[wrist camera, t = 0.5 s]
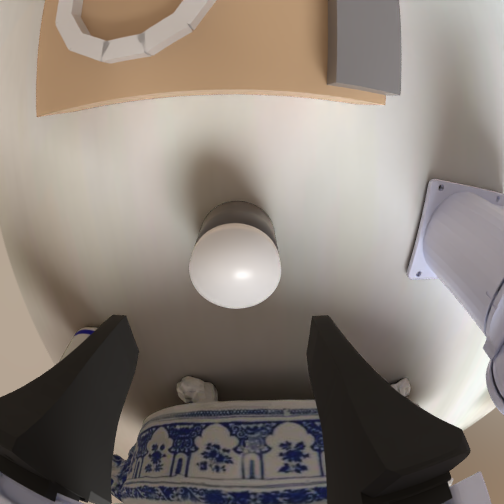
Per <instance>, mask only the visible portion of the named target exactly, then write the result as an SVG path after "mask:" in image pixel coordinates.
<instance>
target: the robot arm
mask: <svg viewBox="0 0 504 504" xmlns="http://www.w3.org/2000/svg"><path fill="white" fill-rule="evenodd" d="M440 184H441V188H440V189H438V187H439V185H440ZM496 198H497V199H496ZM417 272H419V273H418V274H417ZM407 276H408V278H409V279H440V280H441V281H442V282H443V283H444V285H445V286H446V287H447V288H448V289H449V290H450V292H451V293H452V294H453V295H454V296H455V298H456V299H457V300H458V301H459V302H460V304H461V305H462V306H463V307H464V309H465V310H466V311H467V312H468V314H469V315H470V316H471V317H472V319H473V320H474V321H475V322H476V324H477V325H478V326H479V328H480V329H481V330H482V332H483V333H484V334H485V336H486V337H487V338H486V342H485V344H484V346H483V349H484V351H485V352H486V354H487V355H488V357H489V358H490V362H489V364H488V367H487V371H486V383H487V388H488V391H489V394H490V396H491V399H492V401H493V402H494V404H495V406H496V407H497V408H498V410H499V411H500V412H501V413H502V414H503V415H504V194H503V193H499V192H495V191H491V190H487V189H482V188H478V187H474V186H469V185H464V184H459V183H455V182H449V181H444V180H439V179H432V180H430V182H429V184H428V189H427V194H426V199H425V204H424V208H423V213H422V217H421V222H420V226H419V230H418V234H417V238H416V242H415V246H414V249H413V253H412V256H411V260H410V263H409V267H408V270H407ZM138 353H139V350H138V348H137V345H136V342H135V340H134V337H133V334H132V331H131V329H130V326H129V323H128V320H127V317H126V316H124V315H112V316H111V317H110V318H109V319H107V320H106V321H105V322H104V323H103V324H102V325H101V326H100V327H99V328H97V329H96V330H95V331H94V332H93V333H92V334H91V335H90V336H89V337H88V338H87V339H85V340H84V341H83V342H82V343H81V344H80V345H79V346H78V347H77V348H76V349H74V350H73V351H72V352H71V353H70V354H68V355H67V356H66V357H65V358H64V359H63V360H61V361H60V362H59V363H58V364H56V365H55V366H54V367H53V368H51V369H50V370H49V371H47V372H45V373H44V374H43V375H41V376H40V377H38V378H36V379H35V380H33V381H31V382H30V383H28V384H26V385H25V386H23V387H21V388H19V389H17V390H15V391H13V392H12V393H9V394H7V395H5V396H2V397H0V504H84V503H81V502H79V500H81V501H84V502H88V501H89V502H92V503H95V504H111V503H112V500H111V473H112V459H113V451H114V443H115V437H116V431H117V426H118V422H119V418H120V414H121V411H122V408H123V405H124V402H125V399H126V396H127V393H128V390H129V388H130V385H131V382H132V379H133V376H134V373H135V368H136V364H137V358H138ZM307 361H308V370H309V377H310V381H311V385H312V390H313V394H314V398H315V402H316V406H317V410H318V415H319V419H320V423H321V428H322V435H323V444H324V454H325V466H326V482H327V504H491V501H490V498H489V494H488V491H487V488H486V485H485V482H484V479H483V476H482V473H481V472H477V473H476V474H474V475H472V476H470V477H468V478H466V479H464V480H462V481H460V482H458V483H456V484H454V485H453V486H451V487H449V485H448V481H450V480H451V475H450V472H449V471H450V470H452V469H453V468H454V467H455V466H457V465H458V464H459V463H460V462H462V461H463V460H464V459H465V458H466V457H467V456H468V455H469V453H470V448H469V445H468V443H467V440H466V438H465V436H464V433H463V431H462V429H460V428H458V427H456V426H453V425H451V424H449V423H447V422H445V421H443V420H441V419H439V418H437V417H435V416H433V415H432V414H430V413H428V412H427V411H425V410H423V409H422V408H420V407H419V406H417V405H416V404H414V403H413V402H411V401H410V400H409V399H407V398H406V397H404V396H403V395H402V394H400V393H399V392H398V391H397V390H395V389H394V388H393V387H392V386H391V385H389V384H388V383H387V382H386V381H385V380H384V379H383V378H382V377H381V376H380V375H379V374H377V373H376V372H375V371H374V370H373V368H372V367H371V366H370V365H369V364H368V363H367V362H366V361H365V360H364V359H363V358H362V357H361V356H360V354H359V353H358V352H357V351H356V350H355V349H354V347H353V346H352V345H351V344H350V343H349V341H348V340H347V339H346V338H345V336H344V335H343V334H342V333H341V331H340V330H339V329H338V327H337V326H336V325H335V323H334V322H333V321H332V319H331V318H330V317H329V316H312V321H311V328H310V335H309V341H308V348H307Z"/></svg>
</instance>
